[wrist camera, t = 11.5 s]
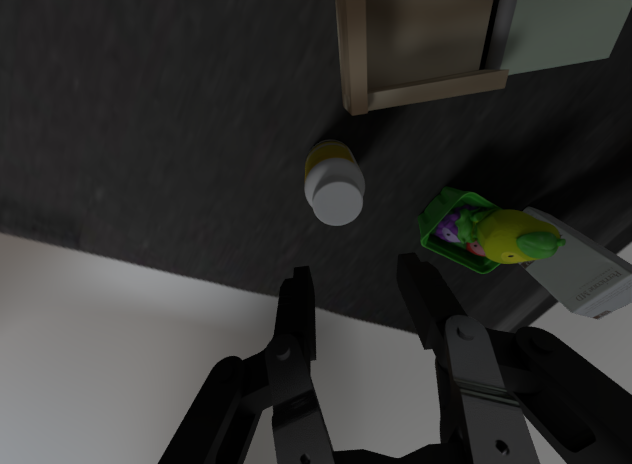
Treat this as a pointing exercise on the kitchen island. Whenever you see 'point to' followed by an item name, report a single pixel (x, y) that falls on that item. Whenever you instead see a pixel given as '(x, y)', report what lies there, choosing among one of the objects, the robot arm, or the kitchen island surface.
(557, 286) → the skincare box
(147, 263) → the kitchen island surface
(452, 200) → the fruit basket
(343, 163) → the supplement bottle
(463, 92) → the brown wooden open box
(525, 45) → the panel
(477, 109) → the kitchen island surface
